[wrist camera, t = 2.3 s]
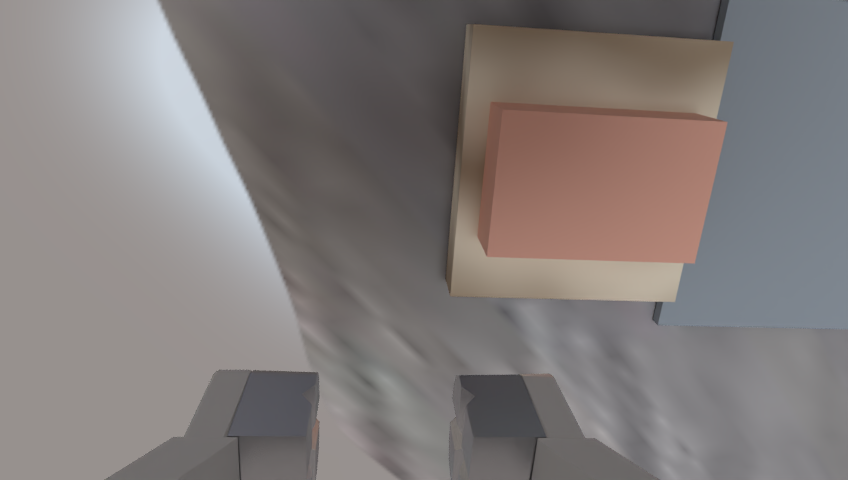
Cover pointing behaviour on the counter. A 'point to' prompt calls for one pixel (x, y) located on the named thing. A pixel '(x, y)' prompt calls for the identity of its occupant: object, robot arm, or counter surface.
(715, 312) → the slate mat
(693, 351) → the counter surface
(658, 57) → the plate
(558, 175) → the coral tile
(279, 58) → the counter surface
